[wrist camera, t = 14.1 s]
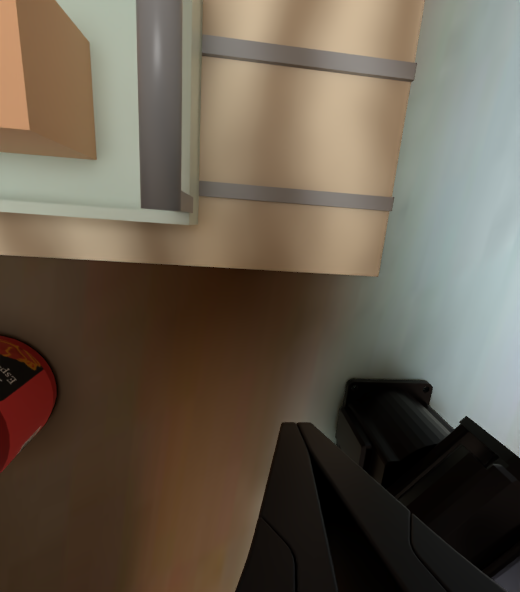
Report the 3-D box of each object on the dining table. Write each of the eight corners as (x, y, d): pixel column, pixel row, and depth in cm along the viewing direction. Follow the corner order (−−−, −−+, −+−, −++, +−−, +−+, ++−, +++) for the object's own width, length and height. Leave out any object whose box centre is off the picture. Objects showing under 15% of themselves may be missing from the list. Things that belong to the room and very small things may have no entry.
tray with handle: (211, -1, 15) (179, -304, 6) (205, 224, 17) (177, 228, 9) (-61, -41, 14) (-558, -482, 5) (-24, 208, 16) (-310, 193, 8)
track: (419, -14, 16) (473, -82, 13) (372, 274, 20) (403, 286, 16) (-134, -103, 14) (-270, -222, 10) (-67, 248, 17) (-148, 256, 14)
